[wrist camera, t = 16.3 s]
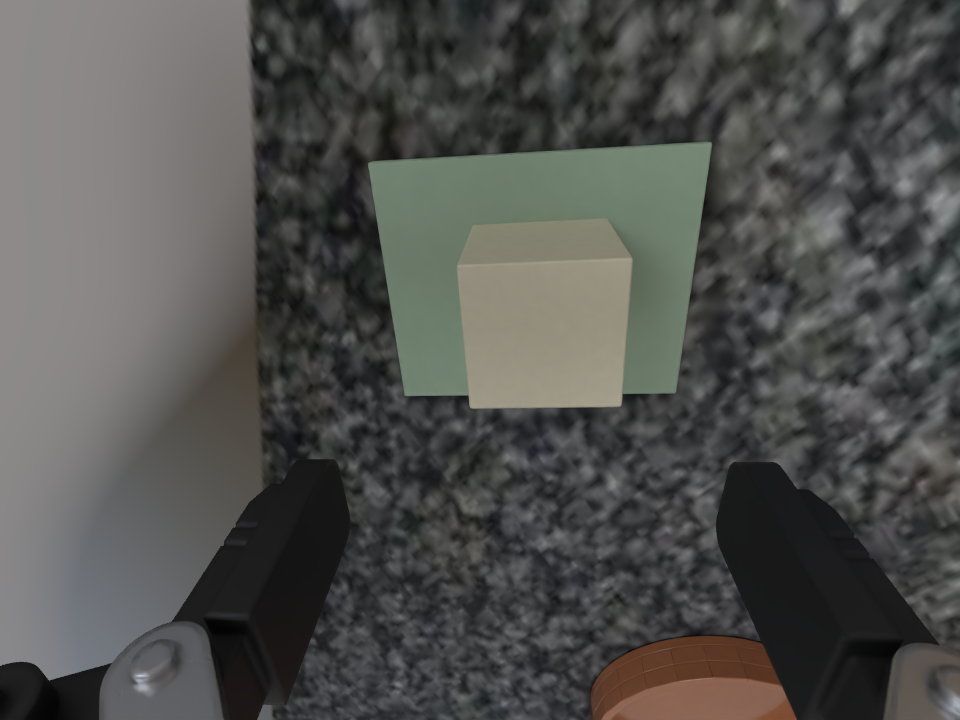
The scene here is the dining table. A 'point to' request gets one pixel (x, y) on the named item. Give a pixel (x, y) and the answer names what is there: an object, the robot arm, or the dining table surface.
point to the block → (545, 314)
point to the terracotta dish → (691, 683)
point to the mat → (535, 198)
